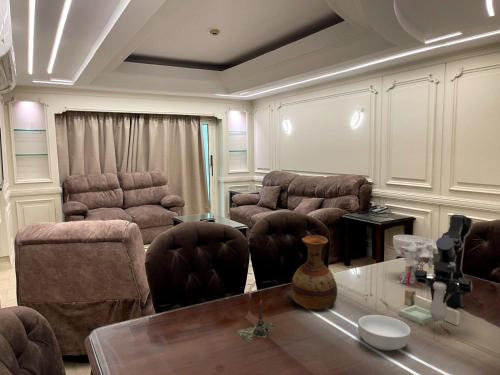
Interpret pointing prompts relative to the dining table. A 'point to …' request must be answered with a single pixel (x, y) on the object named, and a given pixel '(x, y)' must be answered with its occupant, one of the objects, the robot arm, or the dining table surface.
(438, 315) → the salt shaker
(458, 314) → the gate
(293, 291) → the brown ceramic vase
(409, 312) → the tray
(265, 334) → the eiffel tower figurine
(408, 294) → the gate post
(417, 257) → the white irregular sculpture
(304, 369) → the dining table surface
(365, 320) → the cereal bowl
